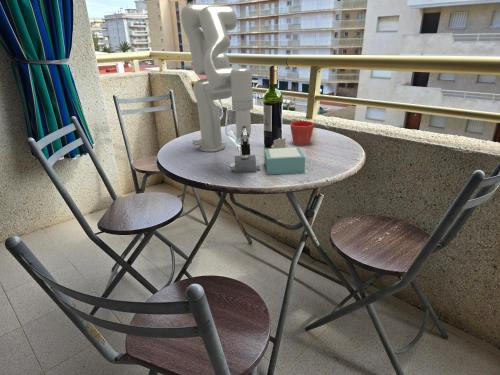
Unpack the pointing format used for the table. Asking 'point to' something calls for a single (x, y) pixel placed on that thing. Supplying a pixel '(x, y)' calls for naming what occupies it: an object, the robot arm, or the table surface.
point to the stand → (284, 160)
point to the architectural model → (279, 143)
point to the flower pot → (301, 132)
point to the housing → (245, 164)
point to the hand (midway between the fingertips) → (245, 151)
